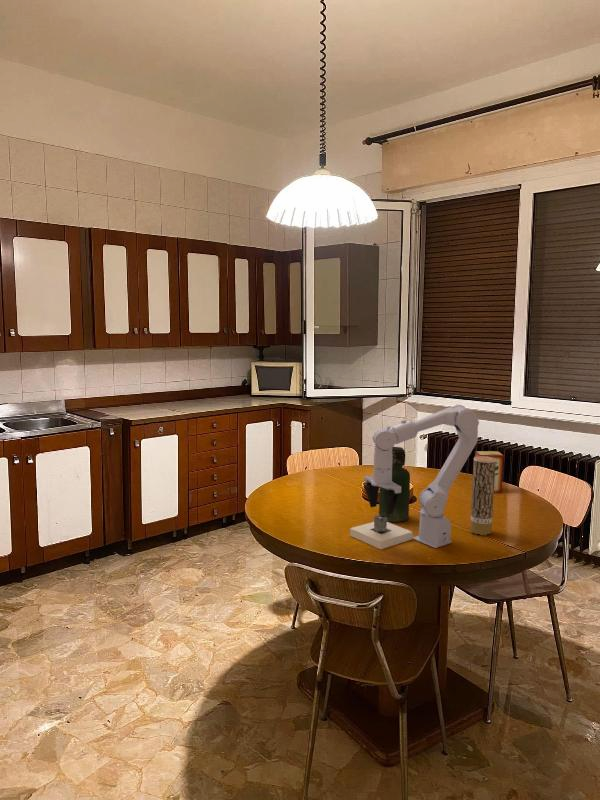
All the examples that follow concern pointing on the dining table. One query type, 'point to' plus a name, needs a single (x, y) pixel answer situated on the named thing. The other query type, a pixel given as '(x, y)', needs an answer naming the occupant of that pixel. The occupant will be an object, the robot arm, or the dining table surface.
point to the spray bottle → (401, 479)
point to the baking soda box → (498, 467)
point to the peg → (380, 524)
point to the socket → (381, 535)
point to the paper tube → (482, 495)
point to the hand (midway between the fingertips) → (381, 509)
